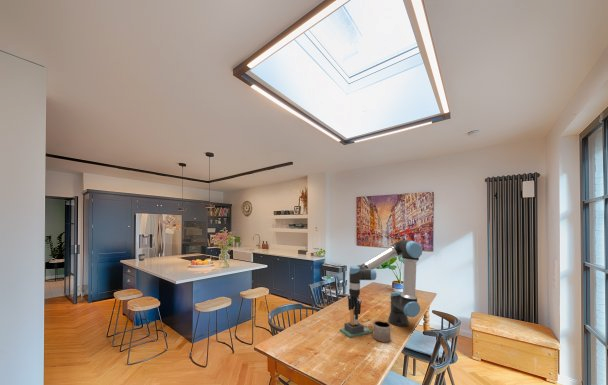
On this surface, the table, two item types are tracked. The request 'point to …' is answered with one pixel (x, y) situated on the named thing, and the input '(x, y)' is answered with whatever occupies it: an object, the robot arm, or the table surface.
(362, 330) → the board
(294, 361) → the table surface
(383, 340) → the planter
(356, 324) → the plug
